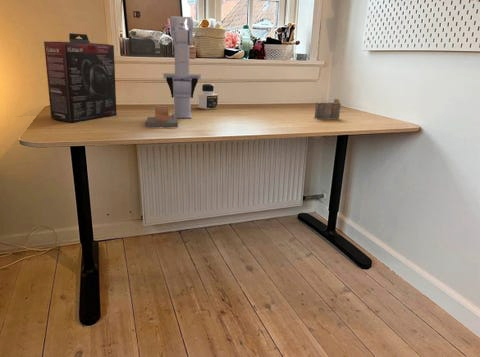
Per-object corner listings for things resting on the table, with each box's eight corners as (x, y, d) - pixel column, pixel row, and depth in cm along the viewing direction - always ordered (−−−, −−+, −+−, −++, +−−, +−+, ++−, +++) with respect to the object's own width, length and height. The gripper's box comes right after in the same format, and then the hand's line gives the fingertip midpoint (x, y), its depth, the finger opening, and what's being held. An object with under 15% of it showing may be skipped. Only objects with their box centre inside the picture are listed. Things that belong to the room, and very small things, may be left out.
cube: (155, 118, 155) (155, 106, 154) (168, 118, 156) (168, 106, 154) (155, 121, 151) (155, 108, 149) (168, 121, 151) (168, 108, 150)
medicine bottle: (206, 109, 194) (207, 85, 190) (198, 107, 198) (198, 83, 194) (217, 108, 198) (218, 84, 194) (209, 106, 203) (209, 83, 199)
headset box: (98, 112, 175) (92, 34, 164) (119, 115, 169) (114, 35, 158) (50, 119, 154) (39, 31, 143) (72, 123, 149) (62, 32, 138)
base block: (148, 123, 159) (147, 117, 158) (177, 123, 161) (177, 117, 160) (146, 129, 148) (145, 122, 147) (177, 129, 150) (177, 122, 149)
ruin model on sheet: (335, 118, 187) (338, 98, 184) (338, 119, 184) (341, 99, 181) (314, 118, 185) (316, 98, 181) (316, 119, 182) (318, 99, 179)
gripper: (162, 61, 146) (163, 98, 150) (201, 63, 148) (200, 99, 152) (163, 61, 153) (164, 96, 157) (200, 62, 155) (200, 97, 159)
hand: (182, 97), depth 155 cm, fingers open, 7 cm apart
